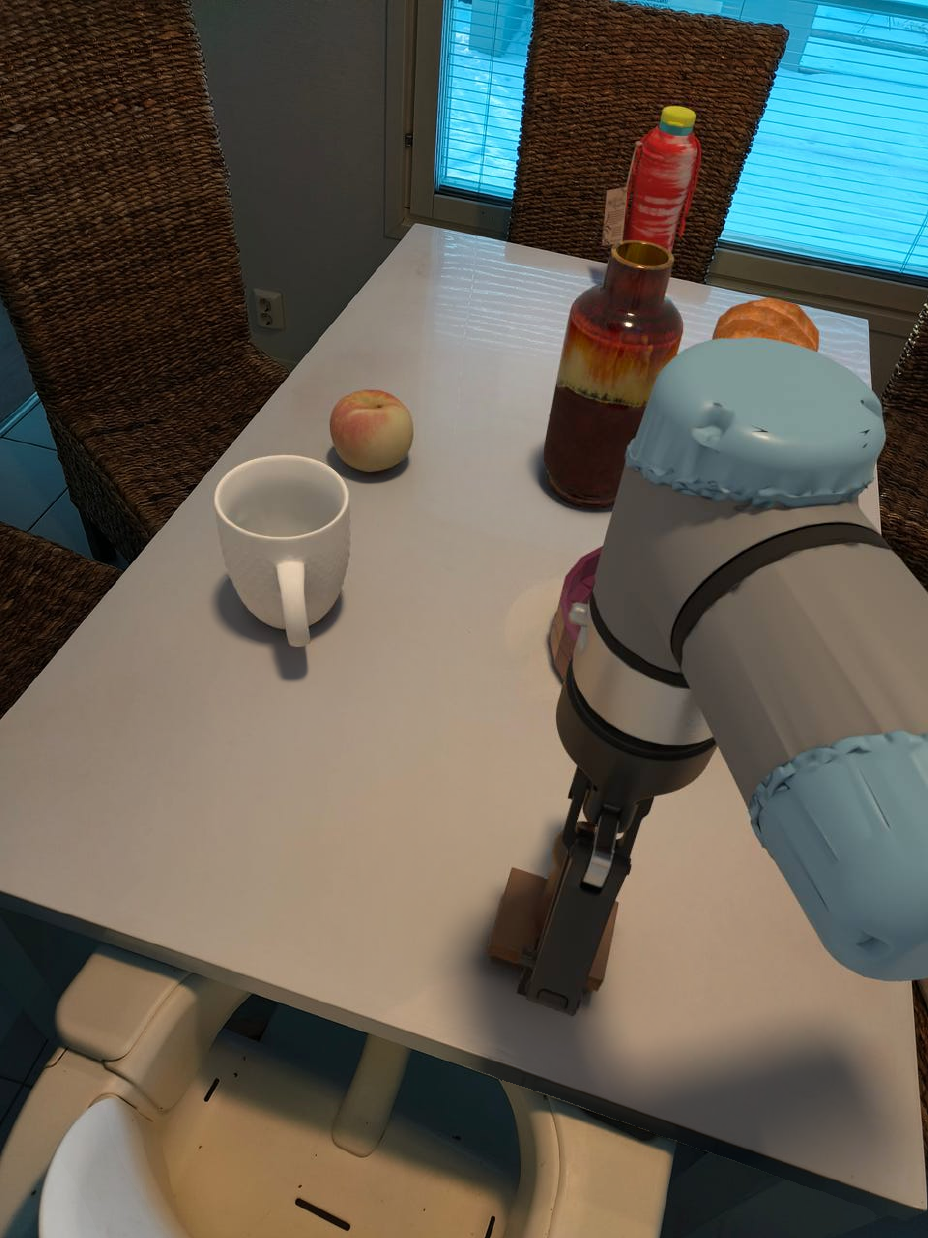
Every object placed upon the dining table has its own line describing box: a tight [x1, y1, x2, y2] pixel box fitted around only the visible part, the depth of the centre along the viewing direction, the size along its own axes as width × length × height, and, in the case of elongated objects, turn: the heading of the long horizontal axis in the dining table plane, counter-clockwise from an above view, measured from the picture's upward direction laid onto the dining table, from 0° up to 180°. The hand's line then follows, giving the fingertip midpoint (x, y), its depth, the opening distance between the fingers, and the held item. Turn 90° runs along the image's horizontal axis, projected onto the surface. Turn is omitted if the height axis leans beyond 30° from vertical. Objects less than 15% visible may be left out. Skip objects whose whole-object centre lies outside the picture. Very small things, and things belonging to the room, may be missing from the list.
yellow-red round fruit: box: [329, 389, 414, 473], centre depth 92 cm, size 9×9×8 cm
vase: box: [542, 240, 684, 509], centre depth 86 cm, size 11×11×26 cm
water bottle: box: [601, 105, 702, 254], centre depth 120 cm, size 12×8×25 cm, turn 74°
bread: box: [711, 296, 820, 352], centre depth 98 cm, size 14×26×16 cm, turn 160°
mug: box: [213, 454, 351, 648], centre depth 73 cm, size 15×11×13 cm
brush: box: [486, 820, 620, 996], centre depth 54 cm, size 8×6×15 cm
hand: (565, 889), depth 54 cm, fingers open, 13 cm apart
